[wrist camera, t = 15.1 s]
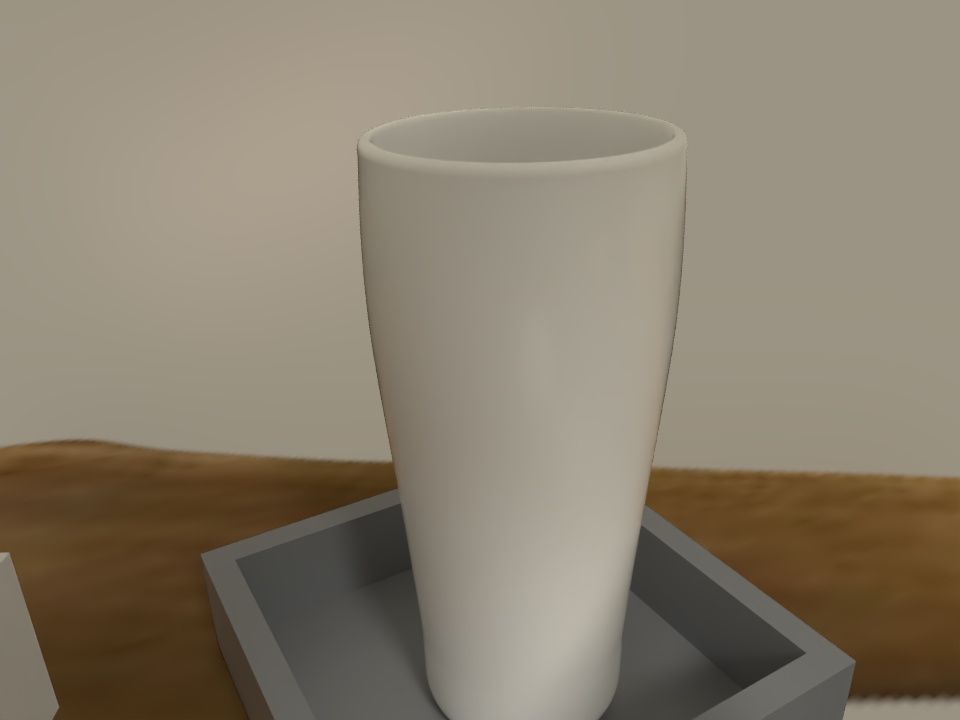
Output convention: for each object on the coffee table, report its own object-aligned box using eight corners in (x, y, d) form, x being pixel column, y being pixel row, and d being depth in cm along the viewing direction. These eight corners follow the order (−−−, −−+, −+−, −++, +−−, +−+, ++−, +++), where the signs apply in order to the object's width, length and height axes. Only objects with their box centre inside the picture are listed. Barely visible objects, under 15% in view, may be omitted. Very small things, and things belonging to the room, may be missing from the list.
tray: (831, 761, 21) (856, 661, 20) (392, 1062, 16) (379, 952, 14) (551, 516, 31) (553, 436, 30) (218, 645, 25) (199, 554, 24)
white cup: (361, 650, 24) (302, 126, 18) (551, 568, 27) (558, 96, 21) (480, 837, 19) (456, 185, 12) (698, 710, 22) (770, 134, 15)
